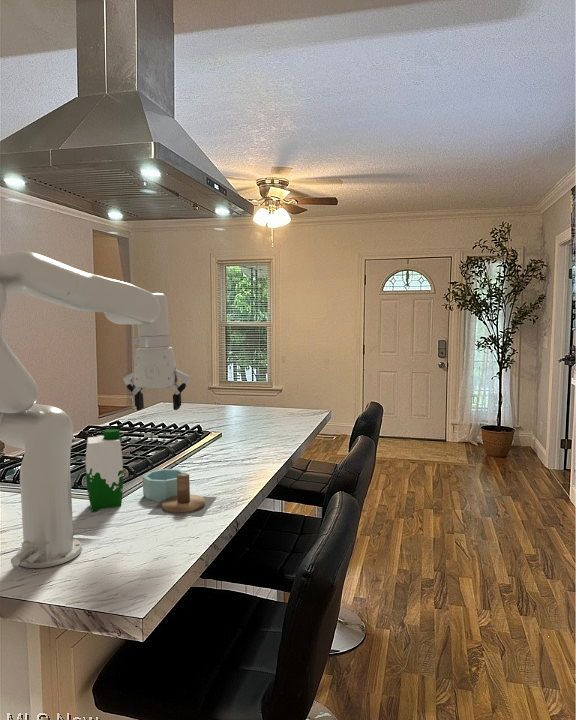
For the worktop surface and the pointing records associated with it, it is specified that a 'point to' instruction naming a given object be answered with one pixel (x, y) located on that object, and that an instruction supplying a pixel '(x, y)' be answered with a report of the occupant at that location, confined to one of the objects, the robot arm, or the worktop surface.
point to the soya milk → (104, 470)
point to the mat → (159, 511)
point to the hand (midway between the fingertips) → (158, 409)
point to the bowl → (161, 484)
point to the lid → (183, 498)
